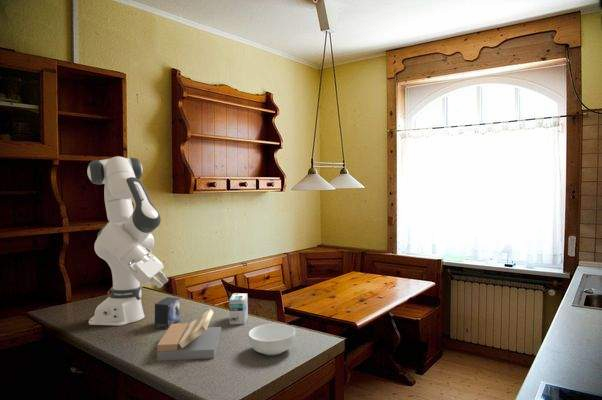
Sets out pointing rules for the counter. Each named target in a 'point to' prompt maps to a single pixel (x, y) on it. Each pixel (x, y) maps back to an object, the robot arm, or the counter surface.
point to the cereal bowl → (272, 338)
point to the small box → (167, 312)
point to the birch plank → (196, 328)
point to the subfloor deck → (195, 349)
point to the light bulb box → (238, 308)
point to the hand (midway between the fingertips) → (164, 284)
